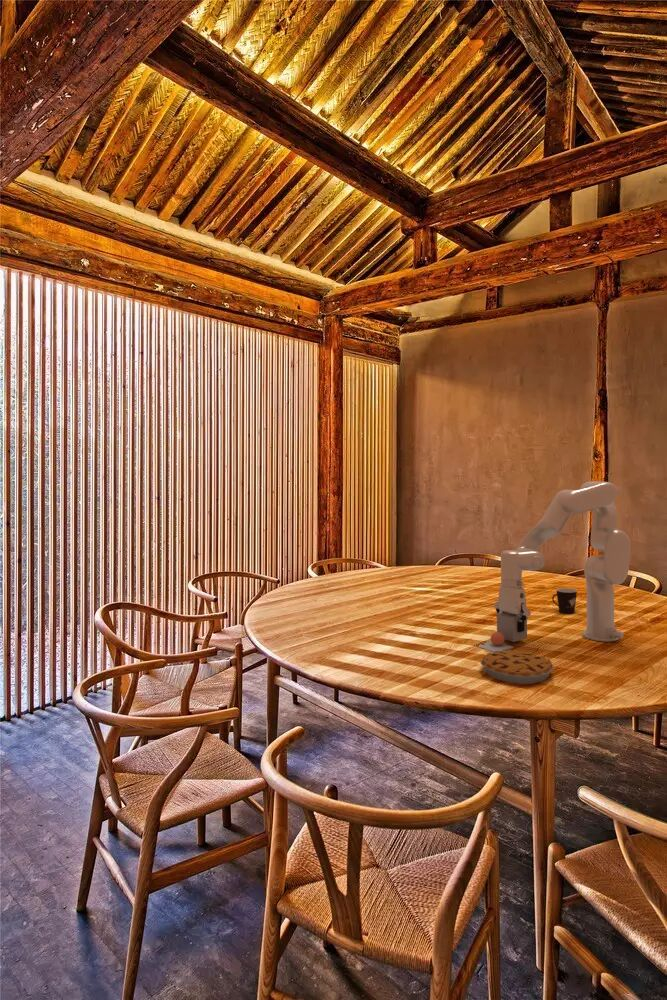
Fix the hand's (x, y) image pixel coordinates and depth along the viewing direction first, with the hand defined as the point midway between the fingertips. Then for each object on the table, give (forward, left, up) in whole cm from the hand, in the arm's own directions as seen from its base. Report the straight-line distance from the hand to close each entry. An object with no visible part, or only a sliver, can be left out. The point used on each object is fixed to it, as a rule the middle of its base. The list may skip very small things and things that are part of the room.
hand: (511, 628), depth 204 cm
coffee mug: (+15, -52, -5) cm, 54 cm away
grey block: (0, 0, -3) cm, 3 cm away
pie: (-22, +24, -5) cm, 33 cm away
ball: (0, +8, -2) cm, 8 cm away
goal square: (0, +10, -5) cm, 11 cm away
